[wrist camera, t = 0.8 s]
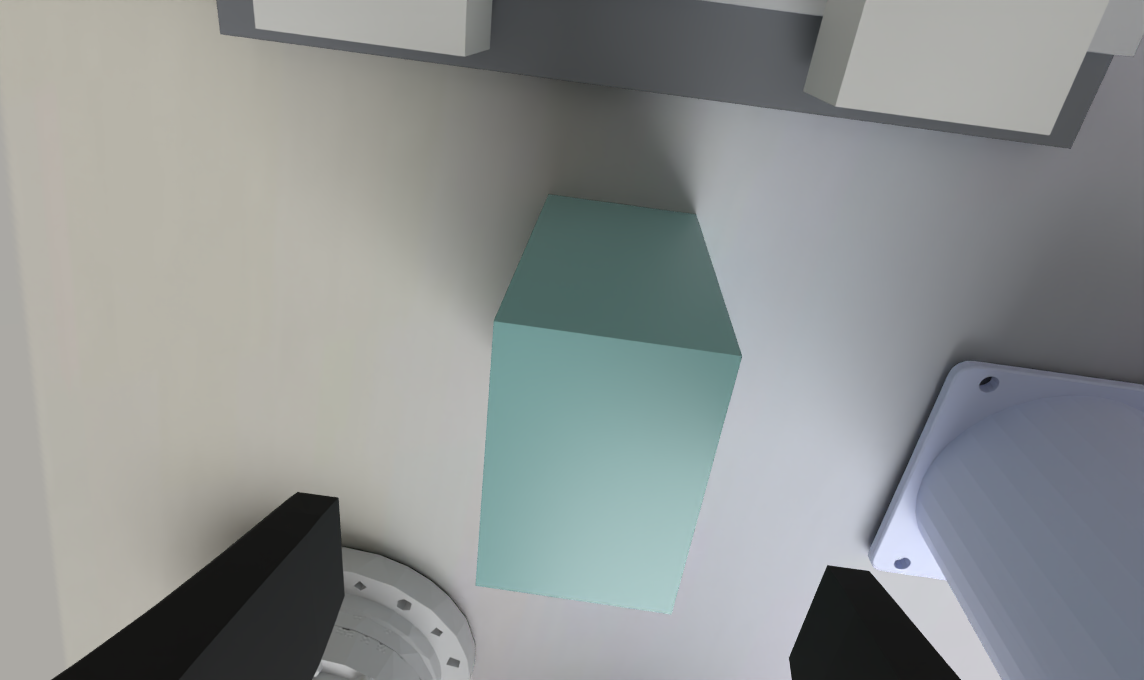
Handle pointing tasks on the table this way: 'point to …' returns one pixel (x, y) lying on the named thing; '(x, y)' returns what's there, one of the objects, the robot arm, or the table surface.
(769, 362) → the table surface
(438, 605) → the mechanical component
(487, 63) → the rail board
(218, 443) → the table surface
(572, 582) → the block
